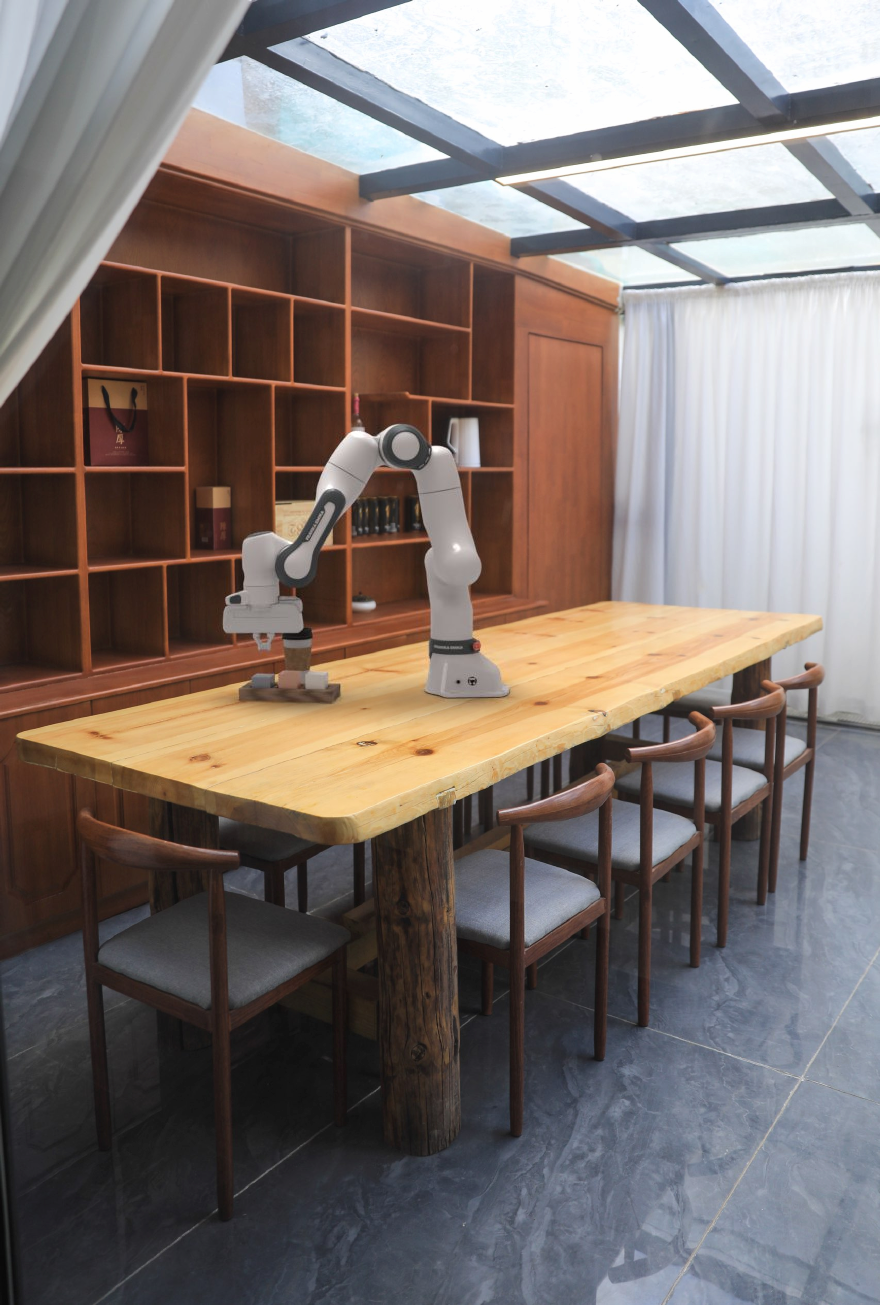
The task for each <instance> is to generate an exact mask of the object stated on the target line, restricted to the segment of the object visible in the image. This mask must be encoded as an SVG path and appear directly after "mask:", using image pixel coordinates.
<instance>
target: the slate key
mask: <svg viewBox="0 0 880 1305" xmlns="http://www.w3.org/2000/svg"><path fill="white" fill-rule="evenodd" d="M250 681H251V682H252V688H273V687H274V686H275V682H276V674H275V673H255V674H254V675H252V676H251V680H250Z"/></svg>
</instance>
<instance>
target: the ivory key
mask: <svg viewBox="0 0 880 1305" xmlns="http://www.w3.org/2000/svg"><path fill="white" fill-rule="evenodd" d="M328 683H329V671H325V670H324V671H322V670H321V671H320V670H319V671H317V670H315V671H314V670H312V671H311V670H310V671H309V672H308V673H307V674H305V685H306V689H320V690H326V689H327V688H328Z"/></svg>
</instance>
